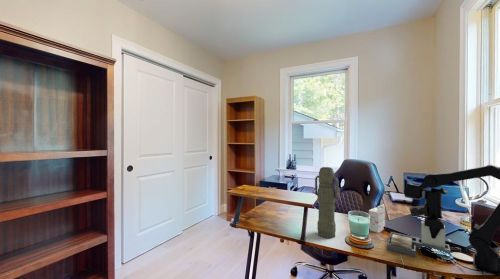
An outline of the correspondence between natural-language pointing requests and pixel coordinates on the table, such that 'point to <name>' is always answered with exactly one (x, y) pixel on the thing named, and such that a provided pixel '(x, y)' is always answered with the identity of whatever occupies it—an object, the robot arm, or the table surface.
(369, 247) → the table surface
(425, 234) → the pale grey block
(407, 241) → the offcut top
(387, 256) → the table surface
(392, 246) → the rack
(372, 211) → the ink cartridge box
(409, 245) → the block
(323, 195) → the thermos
